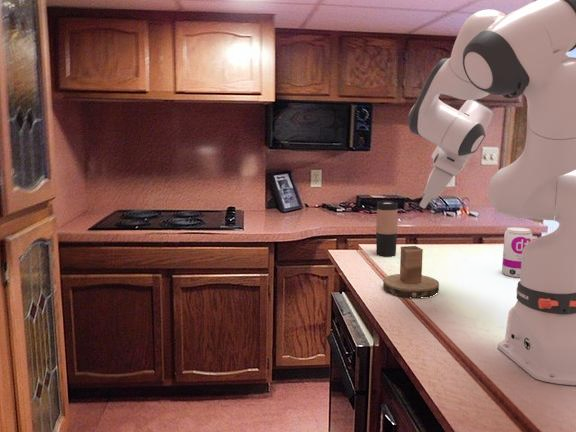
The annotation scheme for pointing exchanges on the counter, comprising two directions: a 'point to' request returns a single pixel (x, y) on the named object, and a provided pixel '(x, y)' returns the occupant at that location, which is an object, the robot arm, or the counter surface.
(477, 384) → the counter surface
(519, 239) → the supplement can
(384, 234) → the travel mug
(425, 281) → the wood slice
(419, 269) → the walnut block
